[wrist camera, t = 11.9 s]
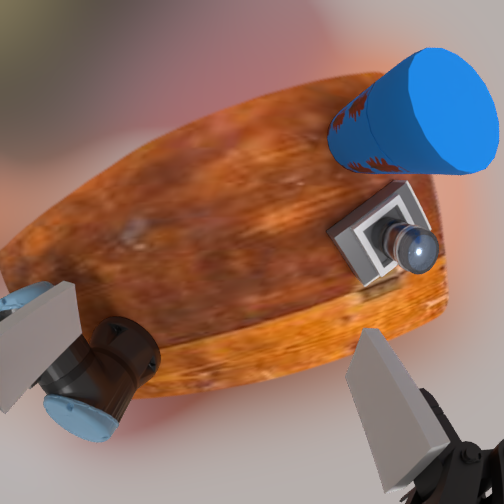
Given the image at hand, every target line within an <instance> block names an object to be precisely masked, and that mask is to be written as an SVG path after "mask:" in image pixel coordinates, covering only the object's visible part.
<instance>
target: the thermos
mask: <svg viewBox="0 0 504 504" xmlns="http://www.w3.org/2000/svg"><path fill="white" fill-rule="evenodd" d="M327 140H328V145H329V149H330V151H331V153H332V155H333V156H334V158H335V160H336V161H337V162H338V163H340V164H341V165H342V166H343V167H344V168H346V169H348V170H350V171H353V172H357V173H368V174H445V175H465V174H472V173H475V172H478V171H481V170H484V169H486V168H487V166H488V165H489V164H490V163H491V161H492V160H493V159H494V158H495V154H496V151H497V147H498V144H499V121H498V117H497V113H496V109H495V105H494V102H493V100H492V97H491V95H490V93H489V91H488V89H487V87H486V85H485V83H484V82H483V81H482V79H481V78H480V77H479V75H478V74H477V73H476V71H475V70H474V69H473V68H472V67H471V66H470V65H469V64H468V63H467V62H466V61H464V60H463V59H462V58H460V57H459V56H458V55H456V54H454V53H452V52H450V51H448V50H445V49H443V48H425V49H423V50H420V51H418V52H416V53H414V54H412V55H411V56H409V57H408V58H406V59H405V60H403V61H402V62H401V63H399V64H398V65H397V66H395V67H394V68H393V69H391V70H390V71H389V72H387V73H386V74H385V75H384V76H382V77H381V78H380V79H379V80H377V81H376V82H375V83H374V84H372V85H371V86H370V87H369V88H367V89H366V90H365V91H364V92H362V93H361V94H360V95H359V96H358V97H356V98H355V99H354V100H353V101H352V102H350V103H349V104H348V105H347V106H346V107H344V108H343V109H342V110H341V111H340V112H339V113H338V114H337V115H336V116H335V117H334V119H333V121H332V122H331V124H330V126H329V129H328V136H327Z"/></svg>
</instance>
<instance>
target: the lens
mask: <svg viewBox="0 0 504 504" xmlns="http://www.w3.org/2000/svg"><path fill="white" fill-rule="evenodd" d="M372 242H373V244H374V246H375V247H376V248H377V249H378V250H379V251H381V253H382V254H383V255H385V256H386V257H388V258H389V259H392V260H394V261H396V262H397V264H398V265H399V266H400V267H402V268H403V269H405V270H407V271H410V272H412V273H414V274H423V273H425V272H427V271H429V270H430V269H431V268H432V267H433V265H434V264H435V262H436V260H437V257H438V253H439V244H438V241H437V238H436V237H435V235H434V234H433V233H432V232H430V231H428V230H427V229H425V228H424V227H422V226H419V225H411V224H408V223H407V222H405V221H403V220H400V219H394V218H391V217H385V218H382V219H380V220H379V221H378V222H377V223H376V224H375V226H374V228H373V230H372Z"/></svg>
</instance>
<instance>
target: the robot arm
mask: <svg viewBox="0 0 504 504" xmlns="http://www.w3.org/2000/svg"><path fill="white" fill-rule="evenodd" d="M160 359H161V358H160V352H159V349H158V346H157V344H156V342H155V341H154V339H153V338H152V337H151V335H150V334H149V333H148V332H147V331H146V330H145V329H144V328H142V327H141V326H140V325H138V324H137V323H135V322H133V321H131V320H129V319H126V318H122V317H109V318H106V319H105V320H103V321H102V322H101V323H100V324H99V325H98V326H97V327H96V328H95V330H94V332H93V334H92V337H91V340H90V343H89V344H88V342H87V341H86V339H85V338H84V336H83V335H82V330H81V324H80V318H79V312H78V306H77V299H76V291H75V284H74V283H70V282H66V281H62V282H61V283H59V284H57V285H56V286H54V285H53V284H51V283H50V282H47V281H42V282H38V283H35V284H32V285H29V286H26V287H24V288H21V289H19V290H17V291H15V292H12V293H10V294H8V295H7V296H5V297H3V298H1V299H0V410H1V411H2V412H3V413H5V414H6V413H7V412H8V411H9V410H10V408H11V407H12V406H13V405H14V404H15V403H16V402H17V400H18V399H19V398H20V397H21V396H22V395H23V394H24V393H25V392H26V390H27V389H28V388H29V389H31V388H32V387H33V386H35V385H36V384H37V383H39V385H40V386H41V387H42V389H43V390H44V391H45V392H46V394H47V395H46V396H45V397H44V402H43V405H44V408H46V412H47V413H48V414H49V416H50V417H51V418H52V419H53V420H54V421H55V422H56V423H58V424H59V425H60V426H61V427H63V428H64V429H65V430H67V431H68V432H70V433H72V434H74V435H76V436H78V437H80V438H82V439H84V440H88V441H91V442H104V441H107V440H108V439H109V438H110V437H111V435H112V434H113V433H114V431H115V429H116V428H117V427H118V426H119V422H120V420H121V418H122V416H123V414H124V412H125V410H126V408H127V407H128V405H129V403H130V401H131V399H132V397H133V395H134V393H135V391H136V390H137V389H138V388H139V387H140V386H142V385H143V384H145V383H146V382H147V381H149V380H150V379H151V378H152V377H153V376H154V375H155V373H156V372H157V370H158V368H159V365H160ZM345 378H346V381H347V383H348V386H349V389H350V391H351V394H352V397H353V400H354V402H355V405H356V408H357V411H358V414H359V416H360V419H361V422H362V425H363V428H364V431H365V434H366V436H367V439H368V443H369V446H370V449H371V452H372V455H373V458H374V461H375V464H376V467H377V470H378V473H379V477H380V480H381V483H382V486H383V490H384V493H385V494H386V493H390V492H394V491H398V490H401V489H404V488H405V487H406V486H407V485H408V484H410V483H411V482H412V481H414V484H415V487H414V488H413V489H412V490H411V491H409V492H408V493H407V494H406V495H404V497H402V498H401V500H400V502H402V501H404V500H405V499H406V498H408V499H407V501H406V503H405V504H504V439H503V440H502V441H501V442H500V443H499V444H498V445H497V446H496V447H495V448H494V449H490V450H481V449H480V448H479V447H478V446H477V445H476V444H474V443H472V442H467V441H465V442H462V441H461V440H460V438H459V437H458V435H457V433H456V432H455V430H454V428H453V427H452V425H451V423H450V422H449V420H448V419H447V417H446V415H444V414H443V413H444V412H443V411H442V409H441V408H440V407H439V405H438V403H437V401H436V400H435V398H434V397H433V396H432V395H431V394H430V393H429V392H428V391H426V390H425V389H424V388H421V389H418V387H417V386H416V384H415V382H414V381H413V379H412V378H411V376H410V375H409V373H408V372H407V370H406V368H405V367H404V365H403V364H402V362H401V361H400V359H399V358H398V357H397V355H396V354H395V352H394V351H393V349H392V348H391V346H390V345H389V343H388V342H387V340H386V339H385V338H384V336H383V335H382V333H381V332H380V330H379V329H372V328H363V330H362V333H361V336H360V339H359V342H358V344H357V347H356V350H355V353H354V355H353V358H352V360H351V363H350V366H349V368H348V371H347V373H346V376H345ZM491 487H492V494H491V495H490V496H488V497H487V498H486V496H485V492H486V491H488V490H489V489H490V488H491Z"/></svg>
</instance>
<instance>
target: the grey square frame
mask: <svg viewBox="0 0 504 504" xmlns="http://www.w3.org/2000/svg"><path fill="white" fill-rule="evenodd" d="M385 217H391V218H394V219H400V220H403V221H405V222H407V223H408V224H411V225H419V226H422V227H424V228H425V229H427V230H428V231H430V230H431V227H430V225H429V222H428V220H427V218H426V216H425V214H424V212H423V210H422V208H421V206H420V204H419V202H418V200H417V198H416V196H415V194H414V192H413V190H412V188H411V186H410V184H409V182H408V181H406V180H394V181H393V182H391V183H389V184H388V185H387V186H386V187H384V188H383V189H382V190H380V191H379V192H378V193H376V194H375V195H374V196H372V197H371V198H370V199H369V200H367V201H366V202H365V203H363V204H362V205H361V206H359V207H358V208H357V209H355V210H354V211H353V212H351V213H350V214H349V215H347V216H346V217H345V218H343V219H342V220H341V221H339V222H338V223H337V224H335V225H334V226H333V227H331V228H330V229H328V230H327V231H326V232H327V234H328V235H329V237H330V238H331V239H332V241H333V242H334V244H335V245H336V247H337V249H338V250H339V252H340V253H341V255H342V256H343V258H344V259H345V261H346V262H347V264H348V265H349V267H350V269H351V270H352V272H353V273H354V275H355V276H356V278H357V279H358V280H359V281H360V282H361V283H362V284H363V286H364V287H366V286H367V285H368V284H370V283H371V282H372V281H374V280H375V279H376V278H378V277H379V276H381V277H383V276H384V275H385V274H387V273H388V272H389V271H390V270H392V269H393V268H394V267H395V266H397V265H398V264H397V262H396V261H394V260H392V259H389V258H388V257H386V256H385V255H383V254H382V253H381V251H379V250H378V249H377V248H376V247H375V246H374V244H373V242H372V230H373V228H374V226H375V224H376V223H377V222H378V221H379V220H380V219H382V218H385Z"/></svg>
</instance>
